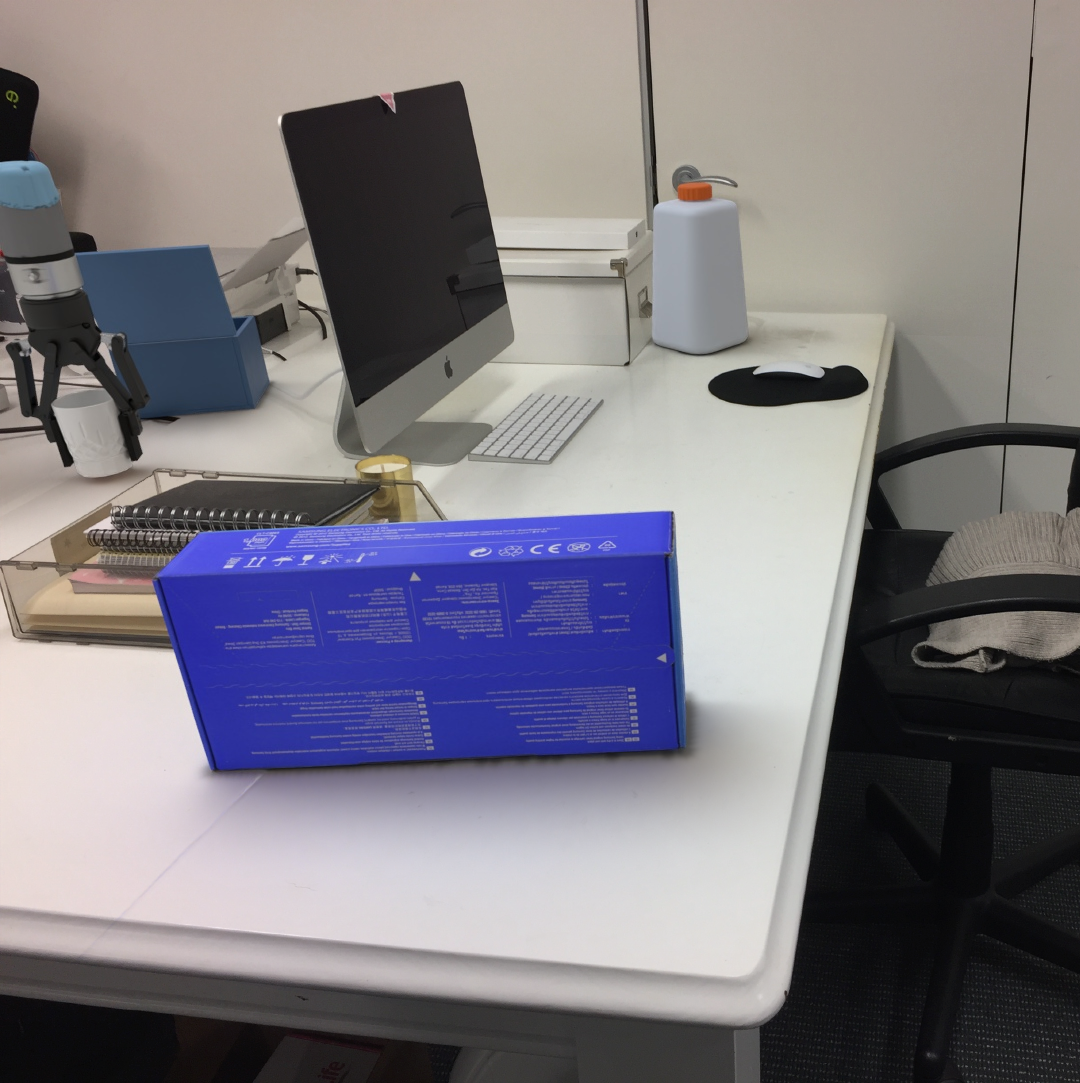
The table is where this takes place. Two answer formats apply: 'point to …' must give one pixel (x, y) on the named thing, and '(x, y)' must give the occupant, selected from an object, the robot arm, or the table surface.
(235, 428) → the table surface
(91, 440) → the white cup
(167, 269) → the case lid
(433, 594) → the blue cardboard box
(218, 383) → the case
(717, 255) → the plastic bottle
